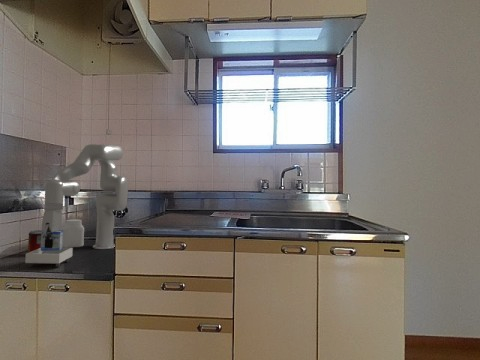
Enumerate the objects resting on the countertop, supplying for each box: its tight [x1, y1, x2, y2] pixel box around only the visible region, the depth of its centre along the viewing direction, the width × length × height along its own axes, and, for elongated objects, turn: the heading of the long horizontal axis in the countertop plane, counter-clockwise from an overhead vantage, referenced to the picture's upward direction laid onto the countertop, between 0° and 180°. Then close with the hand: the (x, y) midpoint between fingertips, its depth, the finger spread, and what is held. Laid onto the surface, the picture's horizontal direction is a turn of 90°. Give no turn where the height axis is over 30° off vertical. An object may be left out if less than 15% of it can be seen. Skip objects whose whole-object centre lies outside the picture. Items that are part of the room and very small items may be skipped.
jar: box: [61, 219, 85, 248], centre depth 188 cm, size 12×10×15 cm
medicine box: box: [41, 230, 63, 251], centre depth 147 cm, size 8×4×9 cm, turn 106°
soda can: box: [27, 229, 42, 253], centre depth 162 cm, size 7×7×12 cm
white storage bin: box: [24, 247, 74, 268], centre depth 146 cm, size 14×14×6 cm
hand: (51, 246), depth 147 cm, fingers closed on medicine box, 5 cm apart
